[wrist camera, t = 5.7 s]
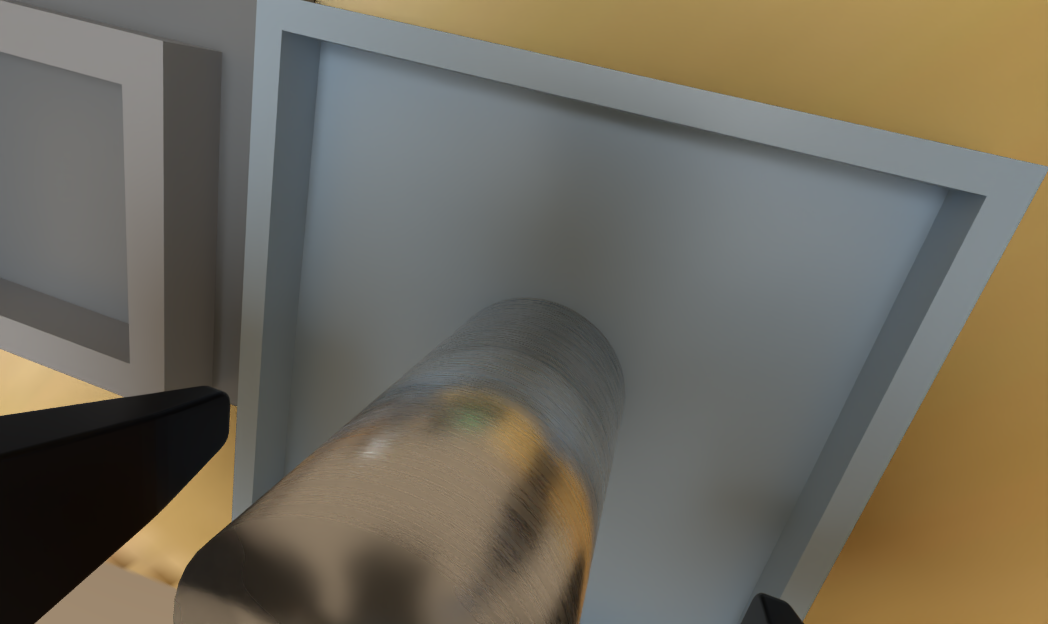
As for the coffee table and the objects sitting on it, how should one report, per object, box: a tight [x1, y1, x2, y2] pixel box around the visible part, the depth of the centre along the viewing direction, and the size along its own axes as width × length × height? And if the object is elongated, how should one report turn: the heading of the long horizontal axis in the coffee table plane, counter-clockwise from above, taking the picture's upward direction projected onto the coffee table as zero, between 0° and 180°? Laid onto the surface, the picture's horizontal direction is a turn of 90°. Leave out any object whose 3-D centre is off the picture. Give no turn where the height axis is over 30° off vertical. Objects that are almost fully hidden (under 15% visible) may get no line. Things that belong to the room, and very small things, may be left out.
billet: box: [173, 298, 625, 624], centre depth 10 cm, size 4×4×8 cm
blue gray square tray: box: [232, 0, 1048, 624], centre depth 13 cm, size 14×14×2 cm
